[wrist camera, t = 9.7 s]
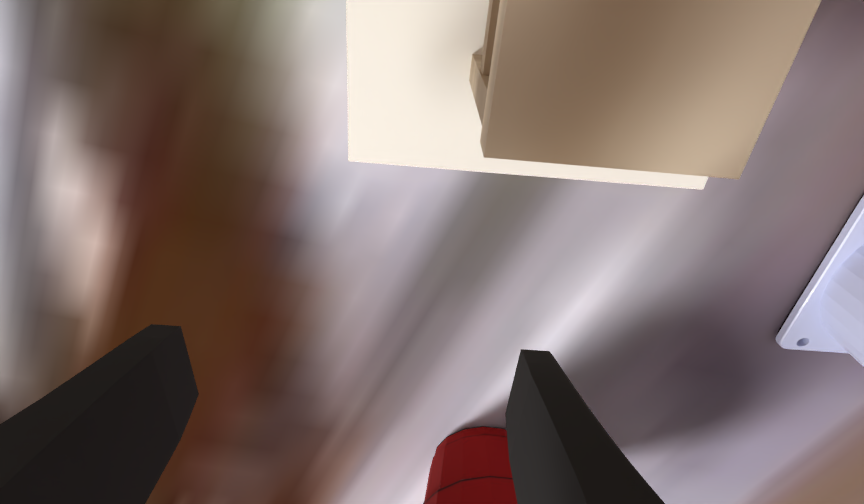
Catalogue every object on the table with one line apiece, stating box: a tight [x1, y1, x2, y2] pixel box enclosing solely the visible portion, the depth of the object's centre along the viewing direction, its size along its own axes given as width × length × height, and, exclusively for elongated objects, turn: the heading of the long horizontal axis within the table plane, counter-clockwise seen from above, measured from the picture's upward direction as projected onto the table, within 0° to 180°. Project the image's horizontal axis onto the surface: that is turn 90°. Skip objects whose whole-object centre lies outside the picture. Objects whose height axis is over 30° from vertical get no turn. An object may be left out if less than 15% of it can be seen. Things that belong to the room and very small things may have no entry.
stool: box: [469, 0, 821, 179], centre depth 11 cm, size 5×5×7 cm
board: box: [346, 0, 708, 190], centre depth 14 cm, size 13×11×1 cm
